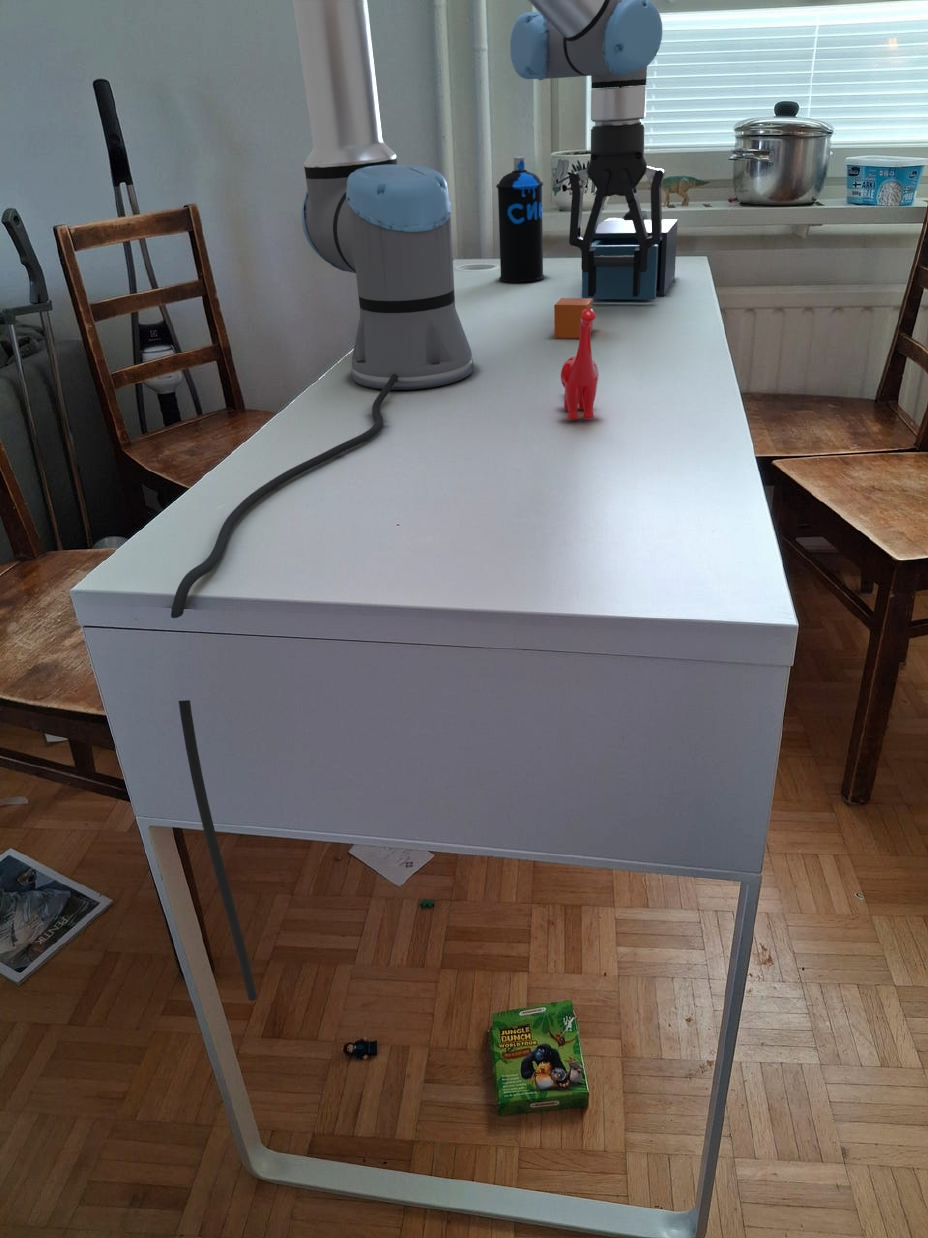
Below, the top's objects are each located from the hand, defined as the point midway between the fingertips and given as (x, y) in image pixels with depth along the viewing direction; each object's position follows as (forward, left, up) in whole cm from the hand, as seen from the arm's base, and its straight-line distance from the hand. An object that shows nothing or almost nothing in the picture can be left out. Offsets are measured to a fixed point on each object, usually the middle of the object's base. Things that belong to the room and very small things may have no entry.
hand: (614, 294), depth 142 cm
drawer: (+8, 0, -1) cm, 8 cm away
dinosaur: (-52, -5, -3) cm, 52 cm away
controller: (+48, +4, -3) cm, 48 cm away
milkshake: (+32, +6, -3) cm, 33 cm away
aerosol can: (+25, +21, -3) cm, 33 cm away
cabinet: (+18, 0, -2) cm, 18 cm away
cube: (-16, +3, -2) cm, 16 cm away
